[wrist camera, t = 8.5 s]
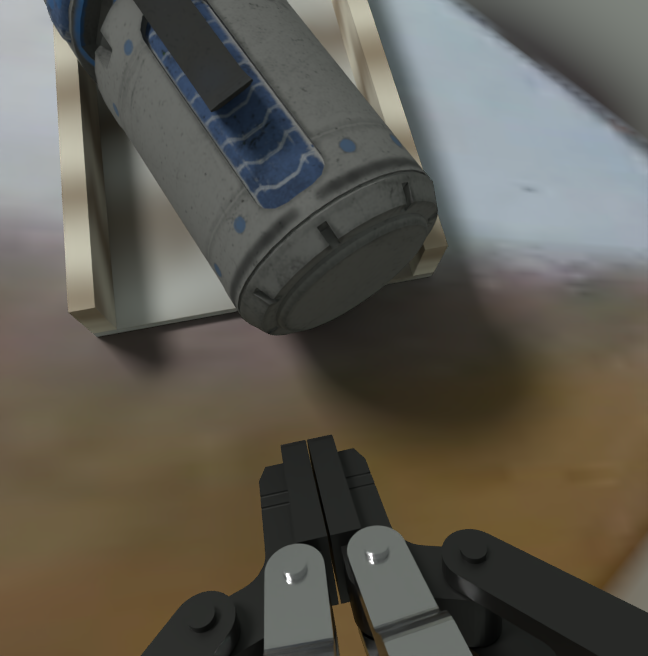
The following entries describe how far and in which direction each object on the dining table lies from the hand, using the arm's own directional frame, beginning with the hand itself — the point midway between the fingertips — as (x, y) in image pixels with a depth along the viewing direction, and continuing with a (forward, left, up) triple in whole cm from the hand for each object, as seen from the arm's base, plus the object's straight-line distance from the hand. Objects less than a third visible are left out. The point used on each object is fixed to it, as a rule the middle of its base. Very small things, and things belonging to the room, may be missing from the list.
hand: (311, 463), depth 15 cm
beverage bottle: (+7, +3, -5) cm, 9 cm away
